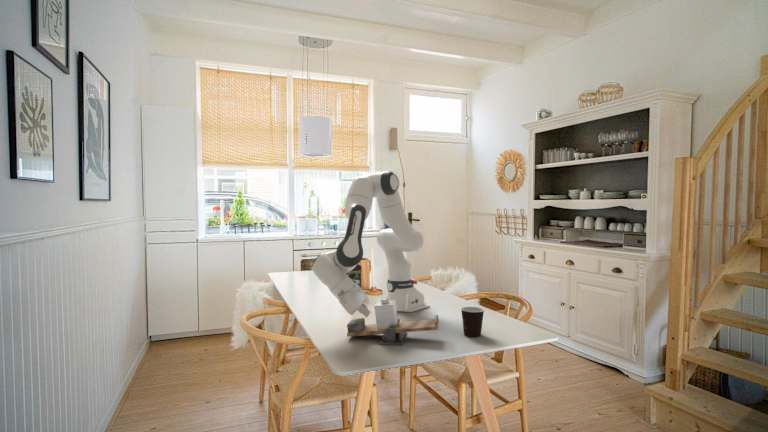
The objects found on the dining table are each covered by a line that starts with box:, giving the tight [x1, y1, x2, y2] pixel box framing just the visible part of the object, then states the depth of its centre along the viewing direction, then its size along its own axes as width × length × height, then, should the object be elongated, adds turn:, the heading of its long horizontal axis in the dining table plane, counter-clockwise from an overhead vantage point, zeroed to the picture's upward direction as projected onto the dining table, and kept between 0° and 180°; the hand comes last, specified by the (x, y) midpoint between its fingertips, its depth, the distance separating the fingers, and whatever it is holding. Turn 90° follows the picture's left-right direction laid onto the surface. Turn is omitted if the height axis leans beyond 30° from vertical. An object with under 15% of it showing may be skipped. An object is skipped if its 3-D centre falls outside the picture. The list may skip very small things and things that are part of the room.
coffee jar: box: [346, 263, 362, 289], centre depth 230 cm, size 10×8×19 cm
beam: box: [346, 314, 440, 338], centre depth 159 cm, size 34×10×4 cm, turn 81°
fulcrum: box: [379, 318, 407, 347], centre depth 159 cm, size 8×16×6 cm, turn 171°
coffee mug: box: [461, 306, 485, 338], centre depth 164 cm, size 12×9×10 cm
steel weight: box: [374, 297, 399, 330], centre depth 159 cm, size 7×7×10 cm
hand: (368, 315), depth 160 cm, fingers closed
